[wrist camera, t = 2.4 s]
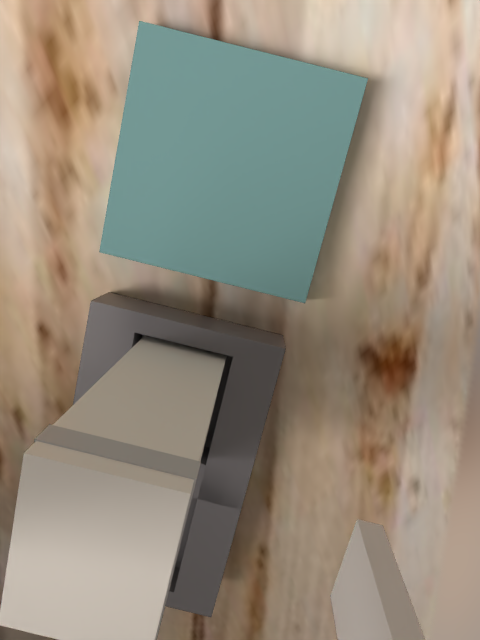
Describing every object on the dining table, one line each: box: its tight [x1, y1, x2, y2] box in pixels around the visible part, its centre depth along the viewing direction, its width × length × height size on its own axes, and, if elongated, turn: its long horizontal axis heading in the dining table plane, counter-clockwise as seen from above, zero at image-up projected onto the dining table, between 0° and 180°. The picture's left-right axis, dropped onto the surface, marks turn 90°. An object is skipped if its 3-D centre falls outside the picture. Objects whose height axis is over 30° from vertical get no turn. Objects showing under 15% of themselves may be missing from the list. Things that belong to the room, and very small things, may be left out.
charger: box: [0, 335, 227, 640], centre depth 17 cm, size 5×4×12 cm
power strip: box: [73, 292, 285, 617], centre depth 23 cm, size 15×9×3 cm, turn 166°
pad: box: [99, 21, 368, 303], centre depth 21 cm, size 10×10×1 cm
